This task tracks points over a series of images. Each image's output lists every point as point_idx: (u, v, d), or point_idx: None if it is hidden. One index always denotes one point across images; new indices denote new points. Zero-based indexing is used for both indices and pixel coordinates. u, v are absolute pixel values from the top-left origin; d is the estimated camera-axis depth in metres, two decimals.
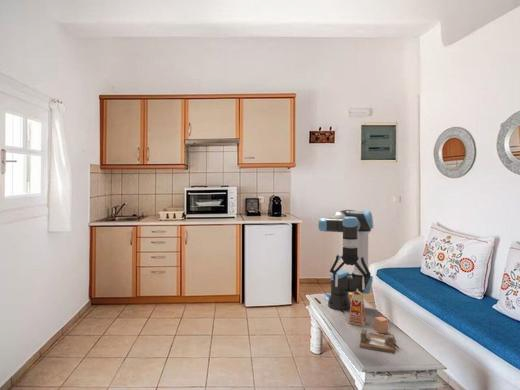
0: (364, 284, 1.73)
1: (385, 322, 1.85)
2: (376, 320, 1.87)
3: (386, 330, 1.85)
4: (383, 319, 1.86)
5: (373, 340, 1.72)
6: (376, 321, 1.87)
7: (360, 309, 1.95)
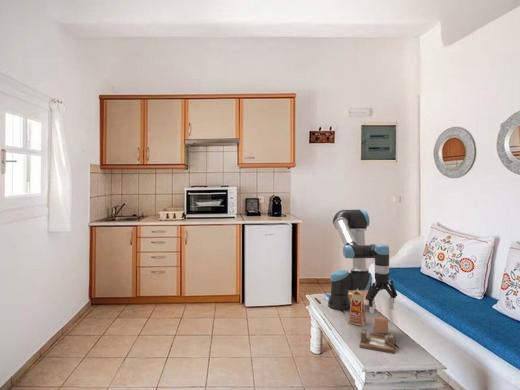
0: None
1: (385, 322, 1.85)
2: (376, 320, 1.87)
3: (386, 330, 1.85)
4: (383, 319, 1.86)
5: (373, 340, 1.72)
6: (376, 321, 1.87)
7: (360, 309, 1.95)
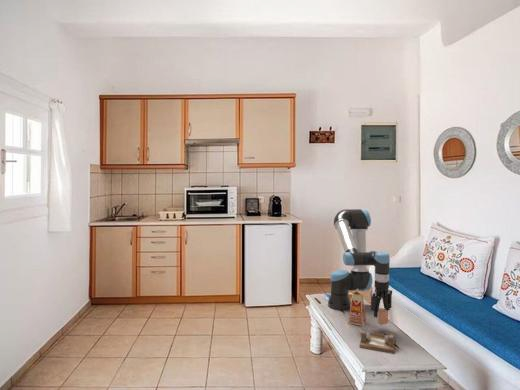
0: None
1: (384, 313, 1.85)
2: None
3: (386, 321, 1.85)
4: (383, 310, 1.86)
5: (373, 340, 1.72)
6: None
7: (360, 309, 1.95)
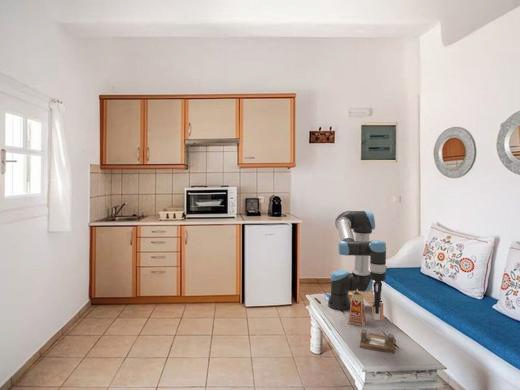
0: None
1: None
2: None
3: None
4: (380, 304, 1.70)
5: (373, 340, 1.72)
6: None
7: (360, 309, 1.95)
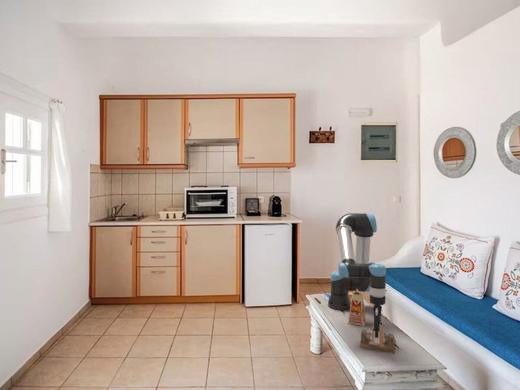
0: None
1: (382, 330, 1.70)
2: None
3: None
4: (380, 328, 1.70)
5: None
6: None
7: (360, 309, 1.95)
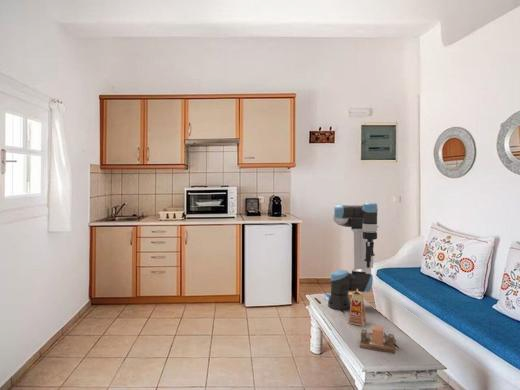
0: None
1: (382, 330, 1.70)
2: (375, 331, 1.69)
3: None
4: (380, 328, 1.70)
5: None
6: (375, 332, 1.69)
7: (360, 309, 1.95)
